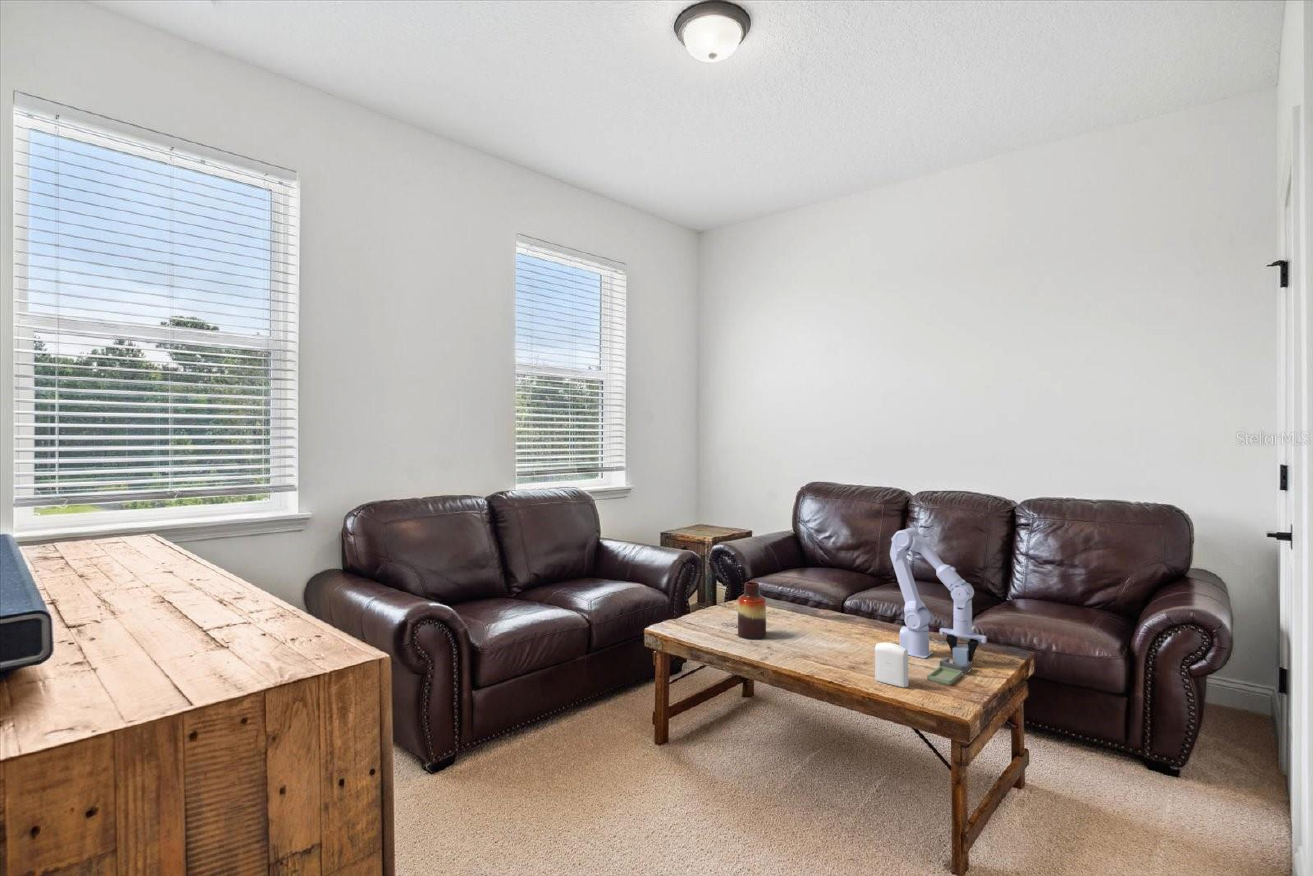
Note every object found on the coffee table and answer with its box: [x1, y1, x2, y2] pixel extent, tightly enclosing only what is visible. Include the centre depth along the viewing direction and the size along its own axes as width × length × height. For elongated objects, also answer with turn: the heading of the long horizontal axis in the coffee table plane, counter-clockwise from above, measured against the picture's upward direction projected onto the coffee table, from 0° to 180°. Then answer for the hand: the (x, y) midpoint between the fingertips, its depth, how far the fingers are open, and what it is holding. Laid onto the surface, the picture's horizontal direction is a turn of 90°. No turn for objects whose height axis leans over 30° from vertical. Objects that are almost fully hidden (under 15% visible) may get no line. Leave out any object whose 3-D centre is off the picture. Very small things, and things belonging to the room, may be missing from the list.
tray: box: [926, 665, 963, 687], centre depth 210 cm, size 7×12×2 cm, turn 138°
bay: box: [939, 656, 972, 675], centre depth 218 cm, size 8×6×2 cm
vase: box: [737, 581, 767, 641], centre depth 255 cm, size 11×11×20 cm
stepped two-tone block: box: [952, 643, 973, 666], centre depth 224 cm, size 4×9×6 cm, turn 138°
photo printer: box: [874, 641, 909, 689], centre depth 206 cm, size 10×4×12 cm, turn 47°
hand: (962, 659), depth 223 cm, fingers closed on stepped two-tone block, 4 cm apart
